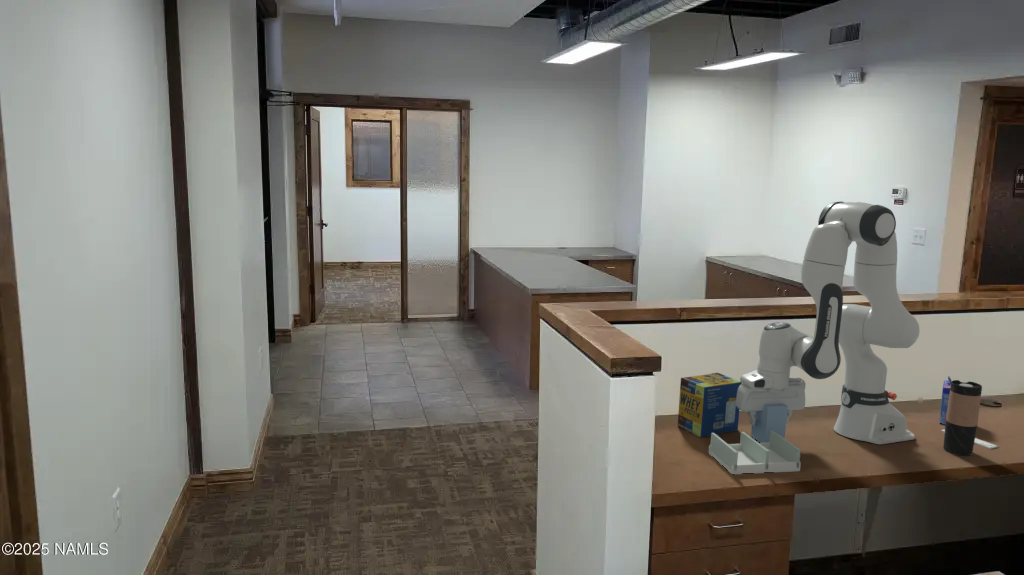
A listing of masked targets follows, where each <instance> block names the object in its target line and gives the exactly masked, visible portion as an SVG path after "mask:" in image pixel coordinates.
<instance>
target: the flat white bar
mask: <svg viewBox="0 0 1024 575" xmlns="http://www.w3.org/2000/svg"><path fill="white" fill-rule="evenodd" d="M941 431H943V432H942V433H944V432H945V428H944V429H941ZM941 431H940V432H941ZM974 443H975V444H974V445H977V446H980V447H983V448H986V449H989V450H991V449H996V448H997V449H998V448H999V446H998V445H997V444H994V443H991V442H988V441H985V440H982V439H979V438H978V437H975V441H974Z"/></svg>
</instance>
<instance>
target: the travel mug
mask: <svg viewBox="0 0 1024 575" xmlns="http://www.w3.org/2000/svg"><path fill="white" fill-rule="evenodd" d="M951 381H952V382H951V387H950V394H949V401H948V408H947V415H946V424H944V429H945V433H944V436H943V450H944V451H946V452H947V453H950V454H953V455H957V456H965V457H966V456H967V457H968V456H972V454H973V451H974V445H975V444H974V441H975V438H976V434H977V429H978V422H979V413H980V406H981V399H982V391H983V386H982V385H981V384H980V383H977V382H974V381H967V382H962V381H960V380H959V379H956V380H955V379H954V380H951Z"/></svg>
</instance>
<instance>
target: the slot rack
mask: <svg viewBox="0 0 1024 575" xmlns="http://www.w3.org/2000/svg"><path fill="white" fill-rule="evenodd" d="M739 439H740V440H739V443H727V442H726V441H725V440H723V439H722V438H721V437H720V436H719V435H718V434H715V433H711V435H710V444H709V445H708V453H709V454H708V455H709V456H711V457H712V456H713V457H714V458H715V459H716V460H717V461H718V462H719V463H718V462H717V461H716V460H715V459H714V458H713V457H712V458H713V459H714V460H715V461H716V462H717V463H718V464H719V465H721V466H722V465H723V466H724V467H725V468H726V469H727V470H728V473H730V474H731V475H732V474H735V475H743V474H742V473H754V474H765V473H764V472H774V473H788V472H789V473H793V472H800V471H801V463H802V462H801V461H800V459H801V449H800V448H799V447H798V446H796V445H794V444H793V443H792V442H791V441H788V439H786V438H785V439H784V438H783V437H781V436H780V435H779V434H777V433H776V432H774V431H773V430H772V431H770V437H769V442H767V443H759V442H758V441H756V440H755V439H754V438H752V437H751V435H749V434H747V433H746V432H745V431H740V438H739ZM723 466H722V467H723ZM724 467H723V468H724ZM725 468H724V469H725ZM726 469H725V470H726Z"/></svg>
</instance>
